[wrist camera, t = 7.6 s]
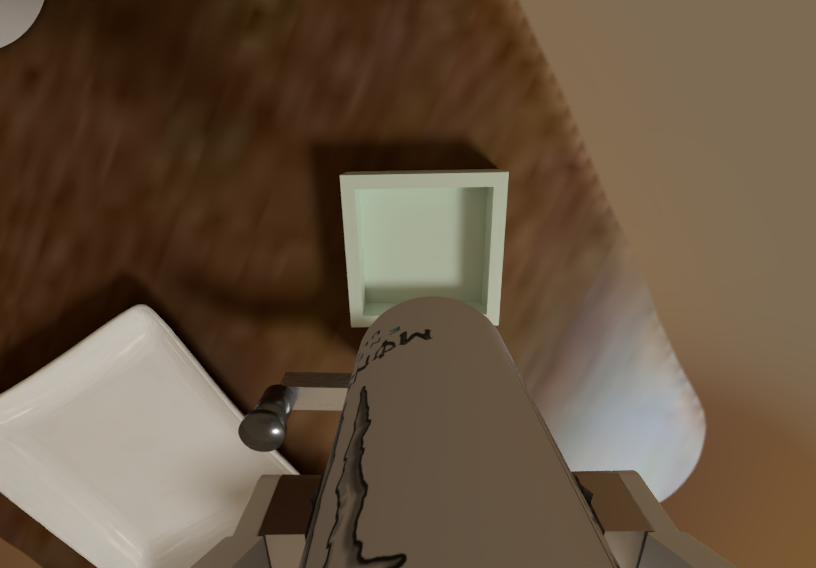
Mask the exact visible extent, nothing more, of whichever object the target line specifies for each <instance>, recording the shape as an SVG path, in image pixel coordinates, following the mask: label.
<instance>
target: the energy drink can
mask: <svg viewBox="0 0 816 568" xmlns="http://www.w3.org/2000/svg"><path fill="white" fill-rule="evenodd" d="M299 568H620V566H619V564H618V562H617V560H616V558H615V556H614V554H613V552H612V550H611V548H610V546H609V544H608V543H607V541H606V539H605V537H604V535H603V533H602V531H601V529H600V527H599V525H598V523H597V521H596V519H595V517H594V516H593V514H592V512H591V510H590V508H589V506H588V504H587V502H586V500H585V498H584V496H583V494H582V492H581V490H580V489H579V487H578V485H577V483H576V481H575V479H574V477H573V475H572V473H571V471H570V469H569V467H568V465H567V463H566V462H565V460H564V458H563V456H562V454H561V452H560V450H559V448H558V446H557V444H556V442H555V440H554V438H553V437H552V435H551V433H550V431H549V429H548V427H547V425H546V423H545V421H544V419H543V417H542V415H541V413H540V411H539V410H538V408H537V406H536V404H535V402H534V400H533V398H532V396H531V394H530V392H529V390H528V388H527V386H526V384H525V383H524V381H523V379H522V377H521V375H520V373H519V371H518V369H517V367H516V365H515V363H514V361H513V359H512V357H511V356H510V354H509V352H508V350H507V348H506V346H505V344H504V342H503V340H502V338H501V336H500V334H499V332H498V330H497V329H496V328H495V326H494V325H493V324H492V323H491V321H490V320H489V319H488V318H487V317H486V316H485V315H483V314H482V313H481V312H480V311H479V310H477V309H476V308H474V307H472V306H470V305H468V304H466V303H464V302H461V301H458V300H455V299H451V298H446V297H436V296H430V297H418V298H415V299H411V300H407V301H404V302H401V303H399V304H397V305H395V306H393V307H391V308H389V309H388V310H387V311H385V312H384V313H383V314H382V315H380V316H379V317H378V318H377V319H376V320H375V321H374V322H373V323H372V325H371V326H370V327H369V328H368V330H367V332H366V333H365V335H364V337H363V339H362V341H361V344H360V347H359V351H358V354H357V358H356V361H355V365H354V369H353V372H352V376H351V380H350V383H349V387H348V390H347V394H346V398H345V401H344V405H343V409H342V412H341V416H340V420H339V423H338V427H337V430H336V434H335V438H334V441H333V445H332V449H331V452H330V456H329V460H328V463H327V467H326V470H325V474H324V478H323V481H322V485H321V489H320V492H319V496H318V499H317V503H316V507H315V510H314V514H313V518H312V521H311V525H310V529H309V532H308V536H307V539H306V543H305V547H304V550H303V554H302V558H301V561H300V565H299Z"/></svg>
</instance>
